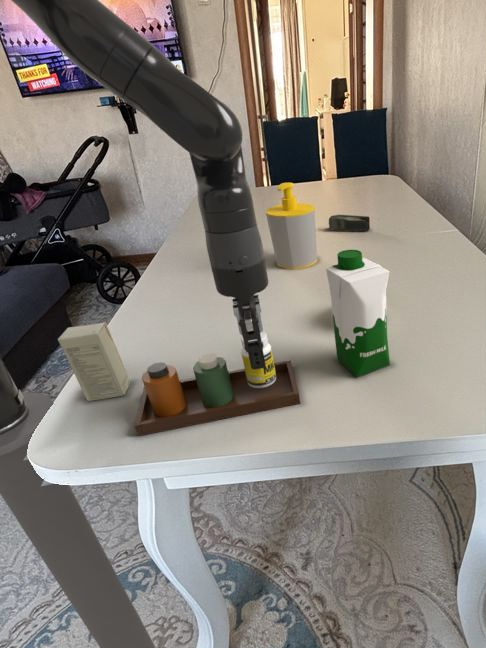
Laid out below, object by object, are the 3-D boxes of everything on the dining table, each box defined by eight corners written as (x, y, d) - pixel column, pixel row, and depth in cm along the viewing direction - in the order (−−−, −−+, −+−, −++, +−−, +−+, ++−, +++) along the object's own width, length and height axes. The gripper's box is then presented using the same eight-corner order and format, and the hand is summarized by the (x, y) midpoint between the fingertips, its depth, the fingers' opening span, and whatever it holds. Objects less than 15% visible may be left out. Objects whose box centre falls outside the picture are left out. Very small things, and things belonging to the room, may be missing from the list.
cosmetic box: (131, 382, 83) (108, 321, 77) (125, 396, 79) (100, 333, 73) (93, 387, 82) (66, 326, 76) (84, 402, 79) (56, 338, 72)
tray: (138, 436, 70) (134, 426, 69) (147, 396, 79) (143, 386, 78) (300, 403, 75) (299, 393, 74) (292, 369, 84) (290, 359, 83)
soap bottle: (264, 266, 130) (250, 188, 119) (290, 251, 140) (280, 177, 129) (304, 272, 125) (294, 190, 114) (328, 256, 135) (321, 179, 124)
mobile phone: (369, 214, 153) (325, 213, 156) (368, 217, 151) (323, 216, 153) (370, 229, 156) (326, 228, 158) (368, 232, 153) (324, 231, 156)
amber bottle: (152, 420, 73) (137, 379, 69) (155, 401, 77) (141, 361, 73) (185, 413, 74) (172, 372, 70) (187, 395, 78) (175, 356, 74)
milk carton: (370, 345, 90) (364, 244, 80) (397, 365, 83) (395, 258, 73) (330, 359, 86) (319, 255, 76) (355, 382, 80) (346, 271, 69)
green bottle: (202, 410, 74) (190, 369, 70) (202, 392, 78) (191, 353, 75) (234, 403, 75) (224, 363, 71) (233, 386, 80) (223, 347, 76)
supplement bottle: (270, 390, 75) (261, 345, 71) (243, 387, 76) (232, 343, 72) (281, 373, 79) (273, 329, 75) (255, 371, 80) (246, 328, 76)
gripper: (210, 245, 72) (232, 342, 80) (208, 279, 60) (234, 388, 69) (260, 239, 73) (276, 334, 82) (268, 270, 61) (286, 378, 70)
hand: (257, 358), depth 75 cm, fingers closed on supplement bottle, 4 cm apart
